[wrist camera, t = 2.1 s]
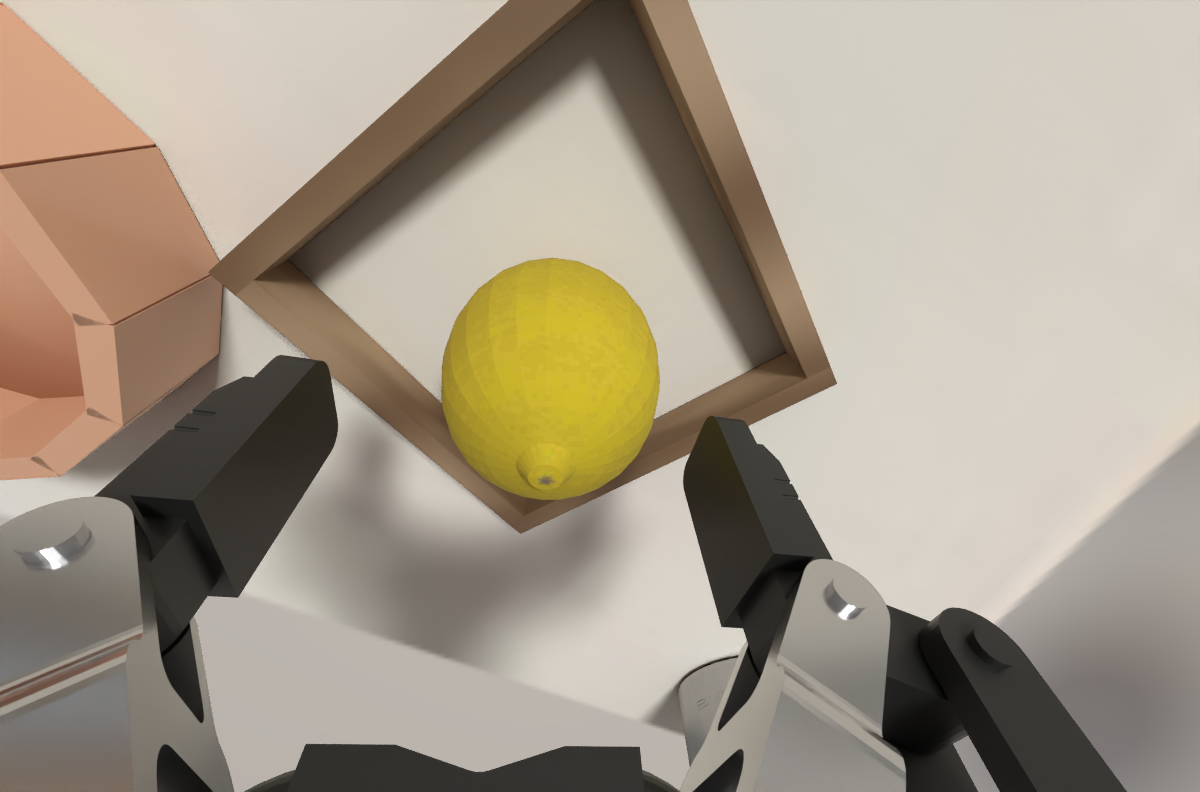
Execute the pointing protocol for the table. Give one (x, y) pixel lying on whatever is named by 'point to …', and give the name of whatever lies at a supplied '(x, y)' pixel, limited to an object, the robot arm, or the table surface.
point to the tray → (419, 115)
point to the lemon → (550, 379)
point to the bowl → (88, 266)
